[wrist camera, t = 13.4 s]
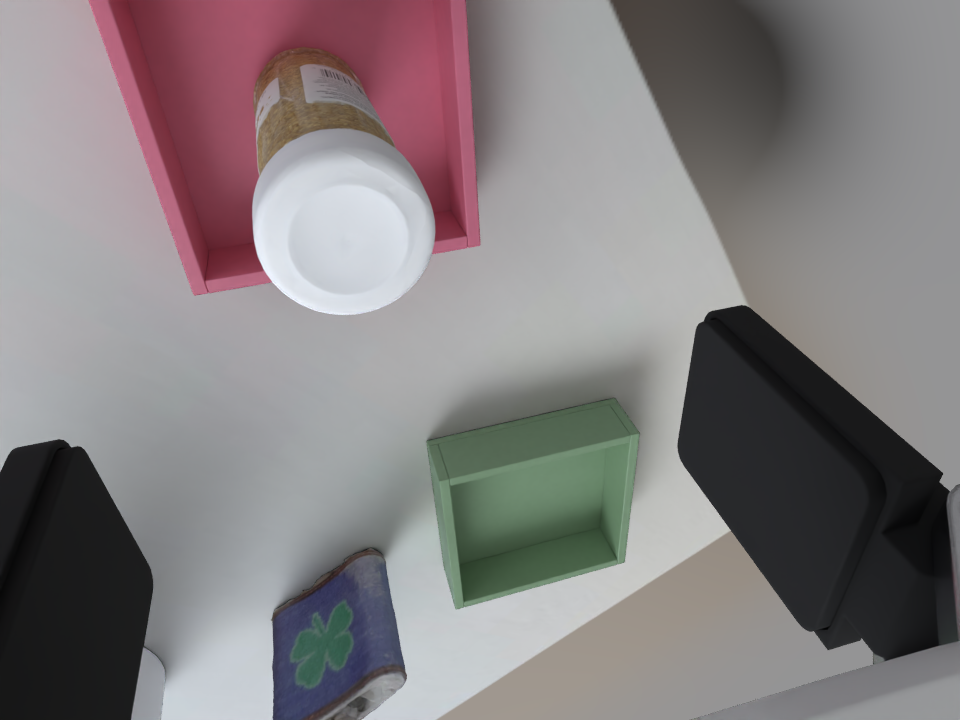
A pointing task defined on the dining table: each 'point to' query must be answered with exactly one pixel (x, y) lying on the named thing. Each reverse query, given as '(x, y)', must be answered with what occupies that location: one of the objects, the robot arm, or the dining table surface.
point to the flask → (338, 645)
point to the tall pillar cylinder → (149, 688)
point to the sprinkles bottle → (333, 190)
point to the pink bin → (231, 120)
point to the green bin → (533, 499)
